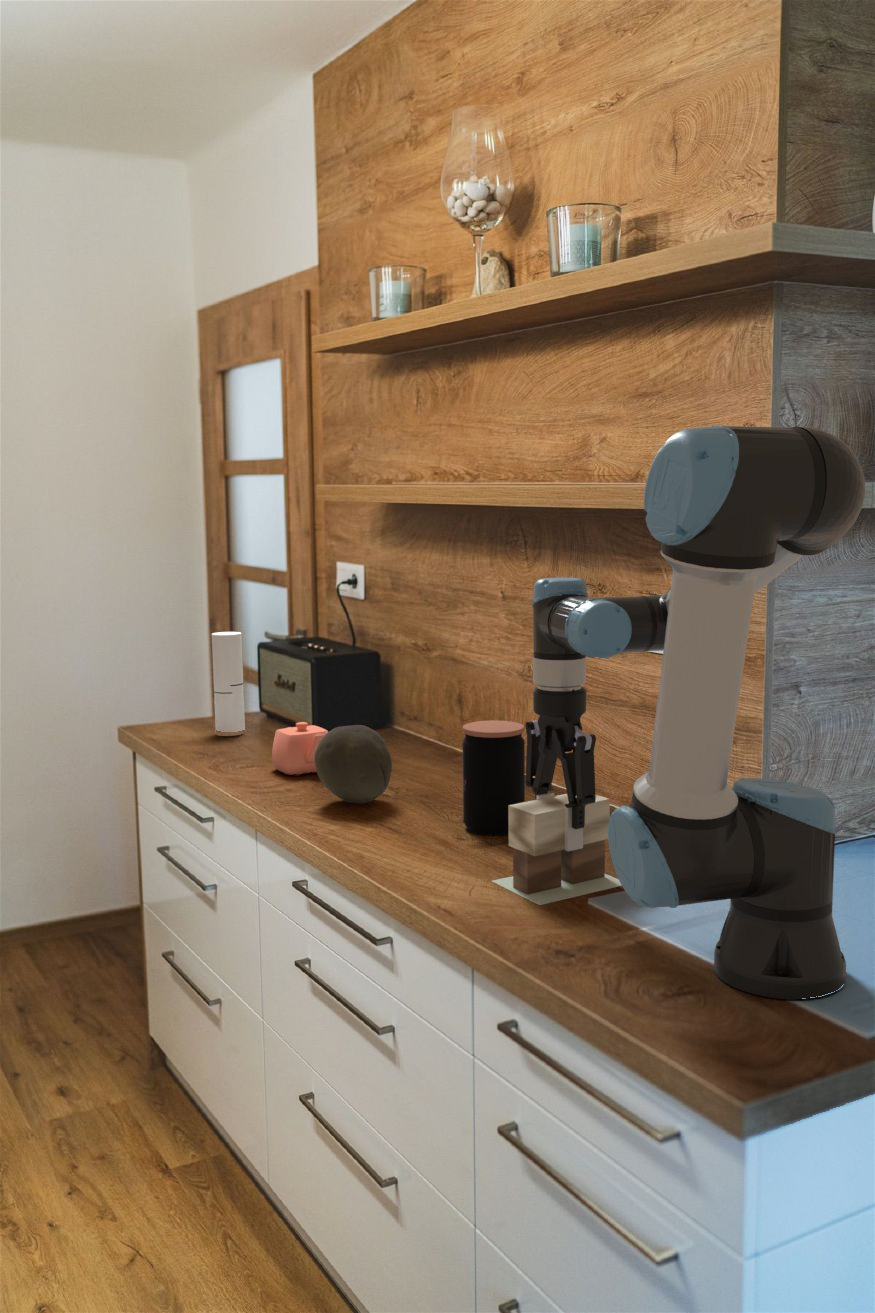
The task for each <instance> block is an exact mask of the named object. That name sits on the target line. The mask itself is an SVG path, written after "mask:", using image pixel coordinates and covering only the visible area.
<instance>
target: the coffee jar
mask: <svg viewBox="0 0 875 1313" xmlns="http://www.w3.org/2000/svg"><path fill="white" fill-rule="evenodd" d="M462 732H463V734H464V735H465V736H464V738H463V740H462V802H463V803H462V805H463V807H462V808H463V811H462V814H463V816H462V817H463V818H462V819H463V823H464V825H465V827H466V828H467V830H468V831H470V832H472V833H474V834H477V835H483V836H484V835H485V836H505V835H509V823H508V805H513V804H518V803H523V802H526V799H525V798H526V795H525V793H526V790H525V789H526V787H525V786H526V783H525V780H526V761H525V758H526V757H525V754H526V753H525V751H526V750H525V749H526V748H525V746H526V745H525V739H524V738H523V737H522V734H524V732H525V726H524V724H522V723H520V722H516V721H511V720H510V721H509V720H497V719H495V720H492V719H491V720H480V721H479V720H477V721H473V722H468V723H465V724H463V726H462Z"/></svg>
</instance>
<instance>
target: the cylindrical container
mask: <svg viewBox="0 0 875 1313" xmlns="http://www.w3.org/2000/svg"><path fill="white" fill-rule="evenodd" d="M242 638H243V637H242V632H240V631H221V632H219V631H218V632H213V633H211V647H212V648H211V649H212V673H213V674H212V676H213V697H214V698H213V699H214V700H213V704H214V720H215V721H214V726H215V731H216V730H217V731H221V732H238V731H242V730H245V731H246V721H245V719H246V718H245V696H244V695H245V694H244V693H245V690H244V666H243V643H242V642H243V641H242V640H243V639H242Z"/></svg>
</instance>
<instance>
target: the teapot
mask: <svg viewBox="0 0 875 1313" xmlns="http://www.w3.org/2000/svg"><path fill="white" fill-rule="evenodd" d="M308 724H309V723H308V722H306V721H300V722H296V723H295V726H292V727H291V726H288V727H285V728H284V727H283V728H278V729H277V730H275V732H274V734H275V735H274V738H273V743H272V753H271V760H272V764H273V767H274V769H275V770H277V771H279V772H281V773H284V774H285V775H292V776H294V775H293V774H302V775H303V774H309V773H311V772H312V773H317V770H316V766H315V752H316V750H317V748H318V745H319V742H320V741H321V739H322V738H323V737H324V736H325V735H326V734H327V733H328V732H329V731H328V730H327V729H326V728H323V727H320V726H318V725H314V724H313V725H312V724H311V725H308Z"/></svg>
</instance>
